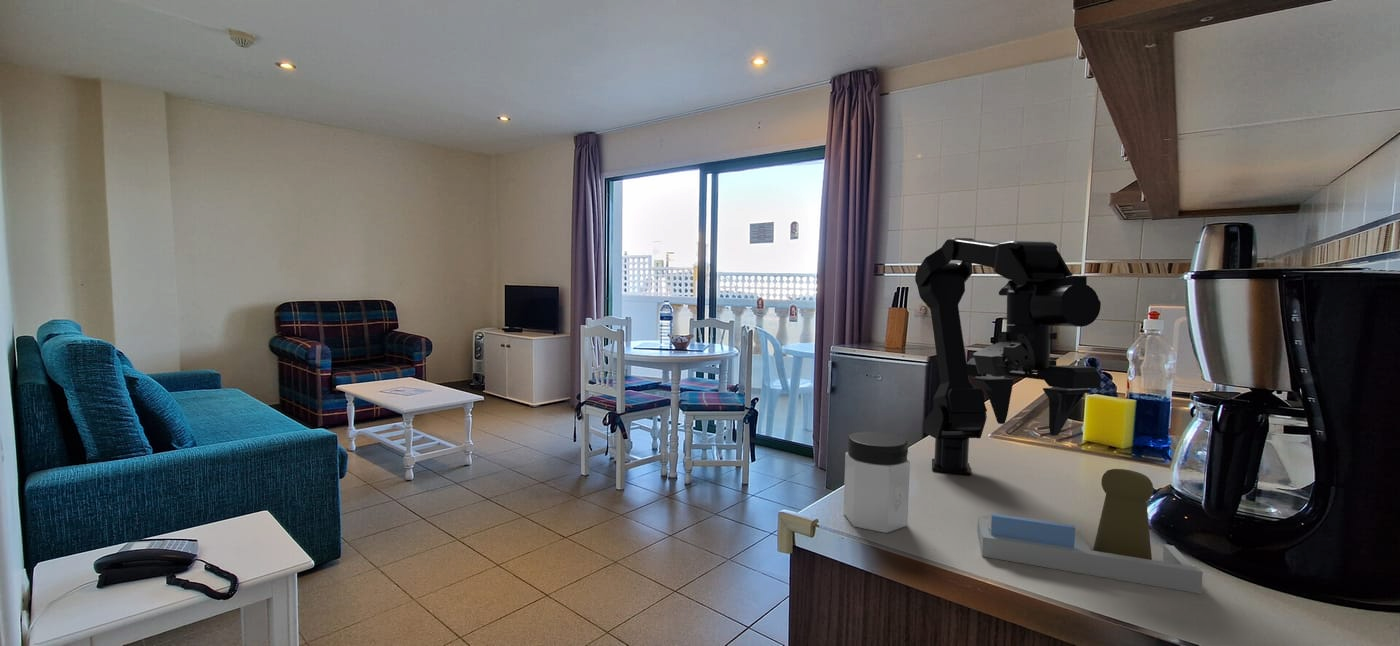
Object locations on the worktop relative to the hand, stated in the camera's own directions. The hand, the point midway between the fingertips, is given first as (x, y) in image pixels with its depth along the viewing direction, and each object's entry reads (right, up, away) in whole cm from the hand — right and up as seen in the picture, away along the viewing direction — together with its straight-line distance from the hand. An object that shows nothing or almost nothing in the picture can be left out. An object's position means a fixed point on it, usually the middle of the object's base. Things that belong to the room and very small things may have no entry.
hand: (1026, 429), depth 86 cm
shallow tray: (-2, -14, -14) cm, 19 cm away
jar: (-24, -13, -3) cm, 27 cm away
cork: (+5, -14, -13) cm, 20 cm away
